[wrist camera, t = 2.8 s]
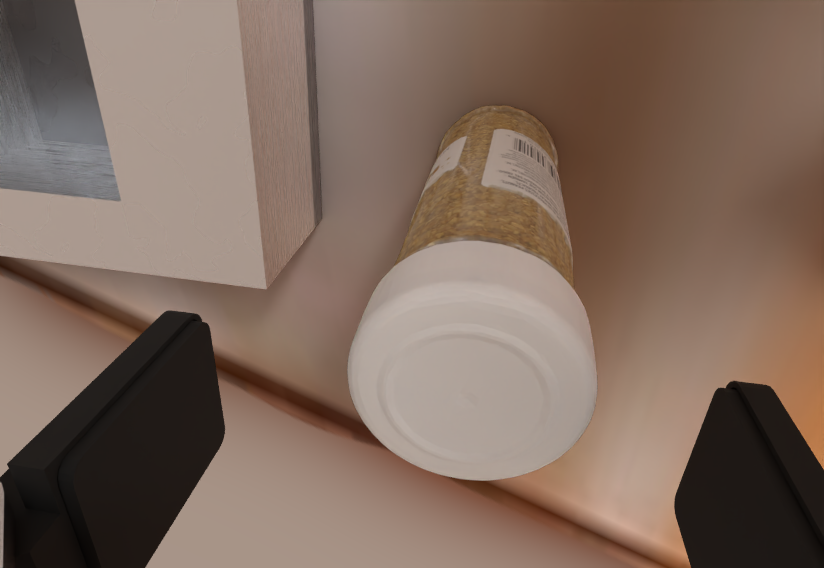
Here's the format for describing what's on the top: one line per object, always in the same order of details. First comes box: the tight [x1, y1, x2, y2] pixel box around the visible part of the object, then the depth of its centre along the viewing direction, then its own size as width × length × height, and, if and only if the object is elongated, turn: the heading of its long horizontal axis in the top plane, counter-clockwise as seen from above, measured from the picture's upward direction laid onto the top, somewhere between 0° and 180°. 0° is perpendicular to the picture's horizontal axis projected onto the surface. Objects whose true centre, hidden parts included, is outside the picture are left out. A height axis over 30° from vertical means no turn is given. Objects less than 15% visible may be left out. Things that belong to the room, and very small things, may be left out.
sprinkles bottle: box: [347, 105, 598, 481], centre depth 16 cm, size 5×5×13 cm
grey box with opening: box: [0, 0, 322, 289], centre depth 19 cm, size 16×12×6 cm
